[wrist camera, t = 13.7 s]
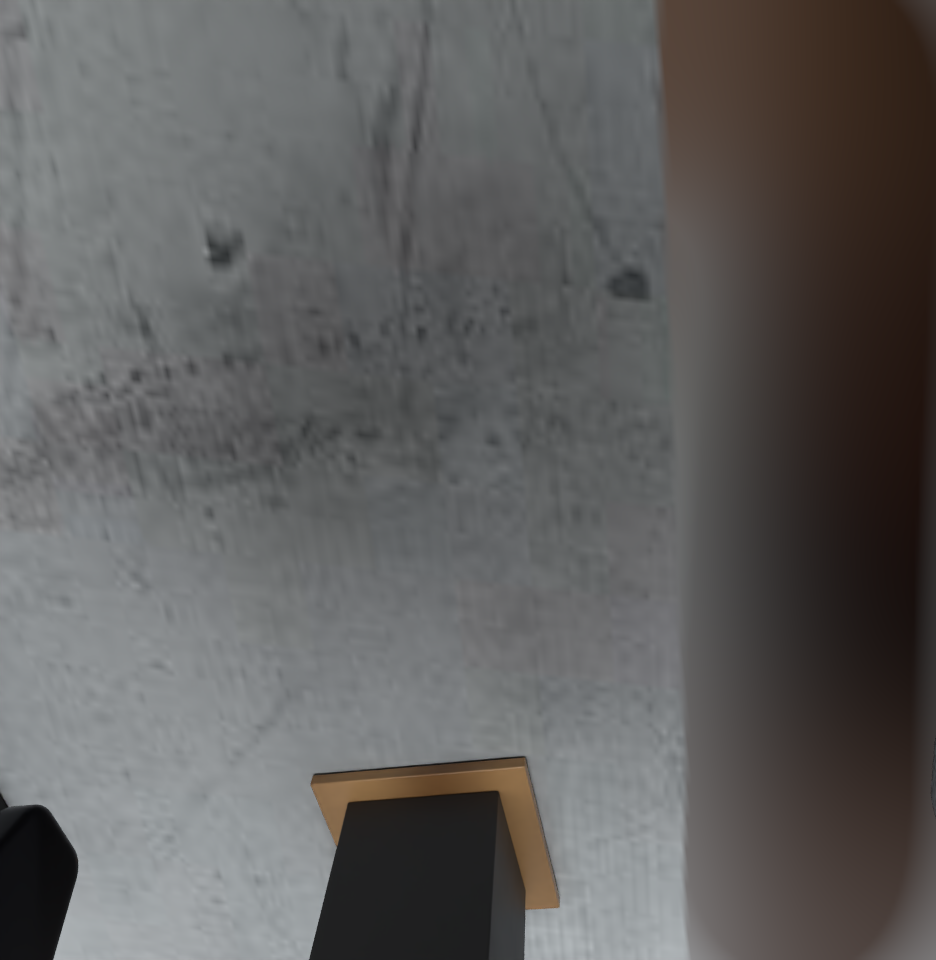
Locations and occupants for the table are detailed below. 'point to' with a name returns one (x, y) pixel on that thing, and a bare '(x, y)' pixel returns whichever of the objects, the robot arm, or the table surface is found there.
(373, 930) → the black rectangular block
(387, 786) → the coaster
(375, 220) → the table surface
